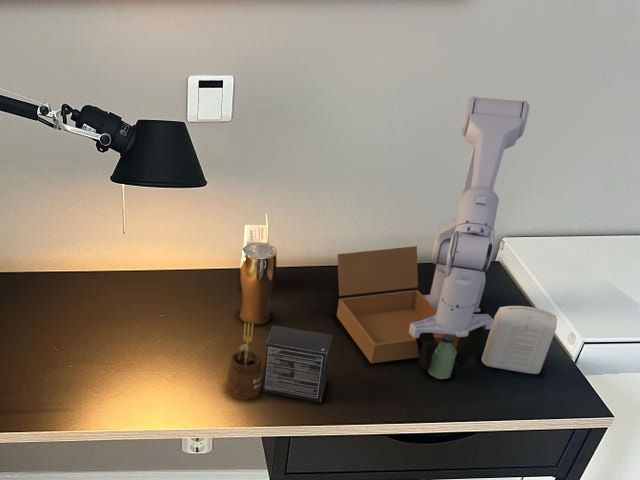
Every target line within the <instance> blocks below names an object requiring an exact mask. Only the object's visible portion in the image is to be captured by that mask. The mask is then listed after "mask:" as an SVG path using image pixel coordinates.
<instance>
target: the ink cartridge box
mask: <svg viewBox="0 0 640 480" xmlns="http://www.w3.org/2000/svg"><path fill="white" fill-rule="evenodd" d="M268 217H269V216H268V212H266V213H265V219H266V220H265V221H266V222H265V223H266V224H245V225H244V236H243V237H244V239H243V240H244V241H243V248H244V247H245V246H246V245H248V244H252V243H264V244H268V245H270V234H269V229H270V228H269V218H268Z"/></svg>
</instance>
